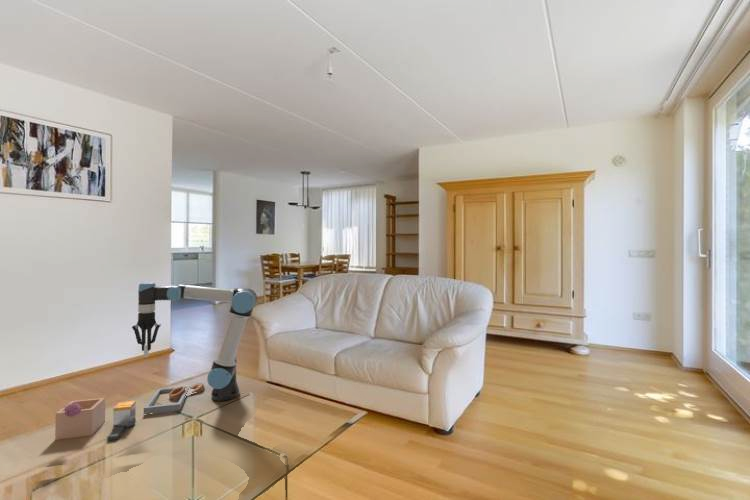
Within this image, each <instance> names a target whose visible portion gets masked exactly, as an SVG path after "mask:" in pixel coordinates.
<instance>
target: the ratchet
mask: <svg viewBox="0 0 750 500" xmlns="http://www.w3.org/2000/svg"><path fill="white" fill-rule="evenodd" d="M135 423H136V417H135V418H134V419H133V420H132V422H131V423H127V424H118V425H113V424H112V428H113V430H112V431H111V432H110V433H109V435H107V439H106V442H113V441H114V442H115V441H118V440H119V439H120V438H121V437H122V435H123V434H124V433H125V432H126V430H129V429H131V428H133V427H134V426H136V424H135Z"/></svg>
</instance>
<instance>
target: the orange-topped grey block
mask: <svg viewBox="0 0 750 500" xmlns="http://www.w3.org/2000/svg"><path fill="white" fill-rule="evenodd" d="M136 407H137V406H136V400H130V401H121V402H118V403H117V404H116V405H115V406H114V407H113V410H112V411H113V412H112V413H113V414H112V415H113V416H112V417H113V418H112V419H113V420H112V422H113V423H112V426H113V425H118V424H127V423H131V422H132V420H133V419H134V418H136Z"/></svg>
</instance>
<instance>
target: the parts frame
mask: <svg viewBox="0 0 750 500" xmlns="http://www.w3.org/2000/svg"><path fill="white" fill-rule="evenodd" d="M178 387H179V386H177V387H167V388H158V389H157V390H156V391H155V393H154V394H153V395H152V397H151V398H150V399H149V401H148V402H147V403H146V404H145V405H144V407H143V415H144V414H150V413H159V414H166V413H167V414H168V413H174V411H175V412H177V411H176V410H180V409H182V408H181V407H183V405H184V403H183V402H185V401H184V399H185V396H186V394H187V392H188V390H189V388H190V387H191V385H188V386H183V387H184V388H186V392H185V393H183V395H182V397H181V398H180V399H178V402H177V403H169V404H168V403H167V404H159V405H154V404H155V403H156V401H157V399H158V398H159V396H160V394H164V393H170V392H171V391H172V390H174V389H176V388H178ZM185 400H186V399H185ZM182 404H183V405H182ZM180 411H181V410H180Z"/></svg>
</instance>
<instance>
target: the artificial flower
mask: <svg viewBox="0 0 750 500" xmlns="http://www.w3.org/2000/svg"><path fill="white" fill-rule="evenodd" d="M67 404H68V406H66V405H65V406H63V407H64V408H65V415H67V417H73V416H75V417H76V415H78V414H80V412H81V411H82V410H81V409H83V408H82V407H80V406H81V405H80V406H79V404H78V402H77V403H76V402H75V403H73V404H69V403H67Z"/></svg>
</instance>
